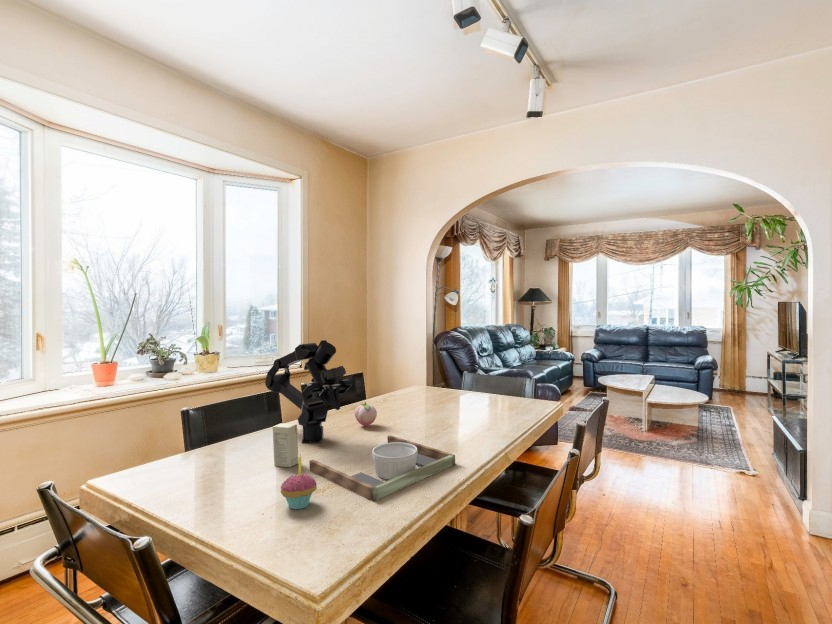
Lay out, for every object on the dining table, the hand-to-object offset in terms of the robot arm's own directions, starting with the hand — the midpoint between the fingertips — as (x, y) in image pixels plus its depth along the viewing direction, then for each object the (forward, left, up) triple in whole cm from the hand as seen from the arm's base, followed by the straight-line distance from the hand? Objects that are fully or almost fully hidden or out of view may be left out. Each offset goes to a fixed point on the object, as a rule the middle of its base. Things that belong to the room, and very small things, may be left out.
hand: (338, 409), depth 144 cm
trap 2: (+27, -13, -14) cm, 33 cm away
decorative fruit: (+7, +26, -14) cm, 30 cm away
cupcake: (-3, -40, -14) cm, 42 cm away
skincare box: (-14, -13, -14) cm, 24 cm away
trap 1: (+11, -28, -14) cm, 33 cm away
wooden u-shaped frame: (+16, -17, -14) cm, 27 cm away
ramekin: (+20, -21, -14) cm, 32 cm away
